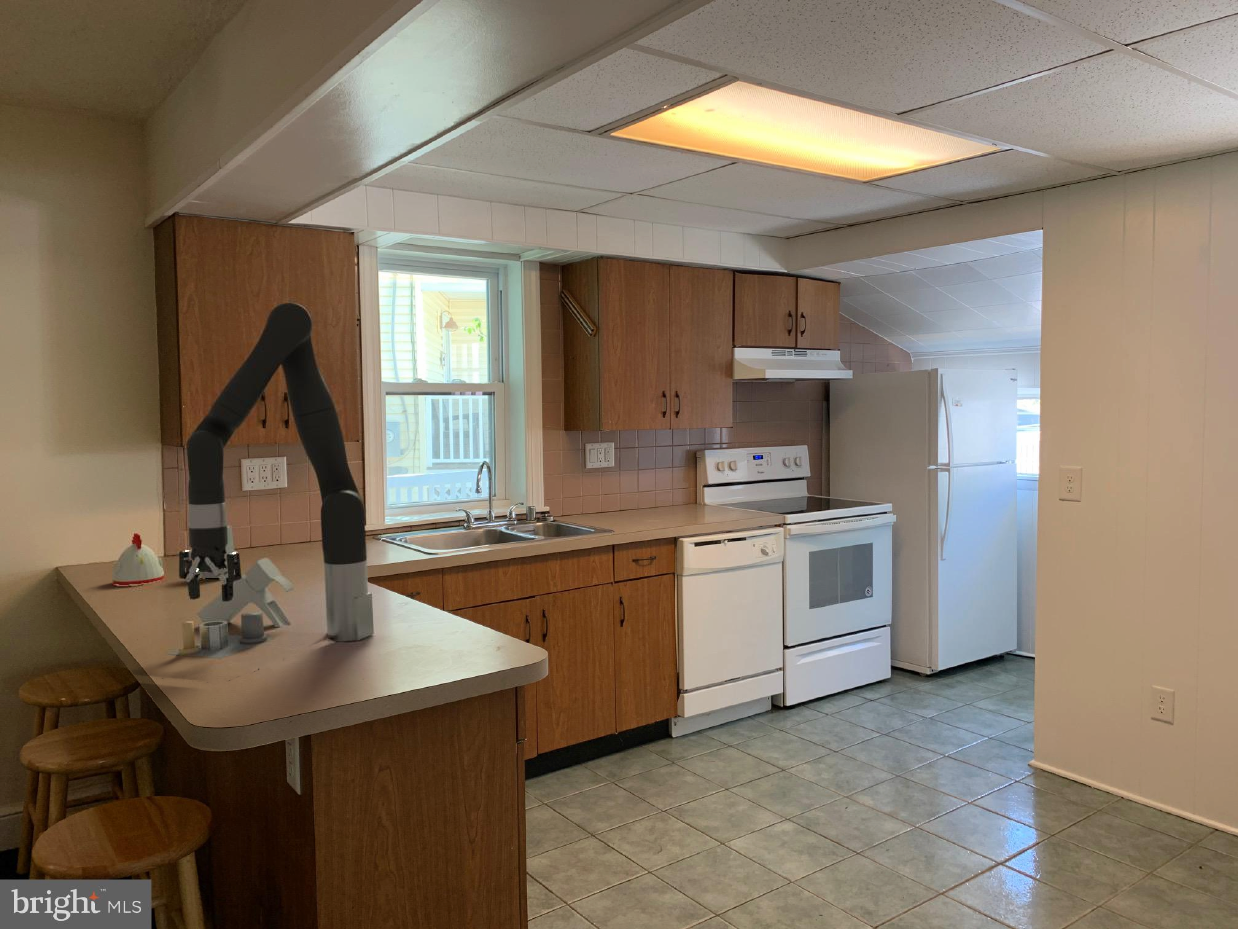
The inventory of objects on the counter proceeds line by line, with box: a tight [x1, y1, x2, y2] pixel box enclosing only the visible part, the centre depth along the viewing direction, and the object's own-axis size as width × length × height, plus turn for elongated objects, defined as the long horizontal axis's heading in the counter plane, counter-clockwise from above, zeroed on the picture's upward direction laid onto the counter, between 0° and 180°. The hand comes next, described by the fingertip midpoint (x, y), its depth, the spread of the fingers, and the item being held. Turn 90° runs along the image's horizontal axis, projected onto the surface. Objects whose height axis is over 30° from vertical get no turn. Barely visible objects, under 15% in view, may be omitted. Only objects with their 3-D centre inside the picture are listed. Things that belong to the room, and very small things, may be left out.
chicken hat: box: [112, 533, 165, 585], centre depth 277 cm, size 14×14×15 cm
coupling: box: [199, 621, 229, 650], centre depth 195 cm, size 5×5×5 cm
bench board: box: [167, 611, 275, 659], centre depth 195 cm, size 14×16×8 cm
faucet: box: [196, 557, 295, 628], centre depth 214 cm, size 6×16×20 cm
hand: (210, 599), depth 194 cm, fingers open, 8 cm apart
